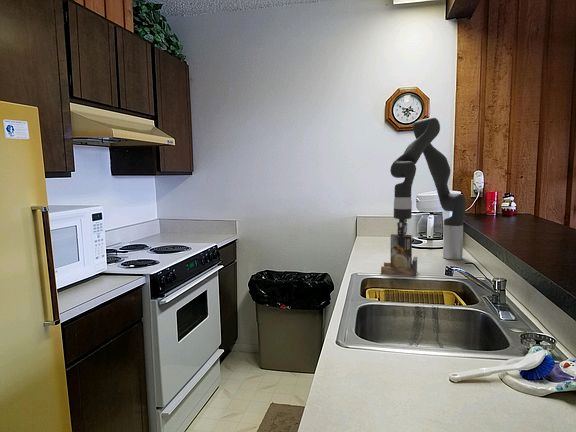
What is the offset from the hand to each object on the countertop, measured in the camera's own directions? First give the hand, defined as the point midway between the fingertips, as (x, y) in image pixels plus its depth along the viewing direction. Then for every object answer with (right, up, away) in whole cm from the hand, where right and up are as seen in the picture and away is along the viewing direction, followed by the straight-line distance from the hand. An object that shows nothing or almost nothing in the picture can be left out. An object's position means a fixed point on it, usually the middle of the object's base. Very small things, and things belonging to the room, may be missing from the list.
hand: (402, 244), depth 177 cm
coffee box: (0, -12, +2) cm, 12 cm away
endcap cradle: (-1, -13, +2) cm, 13 cm away
